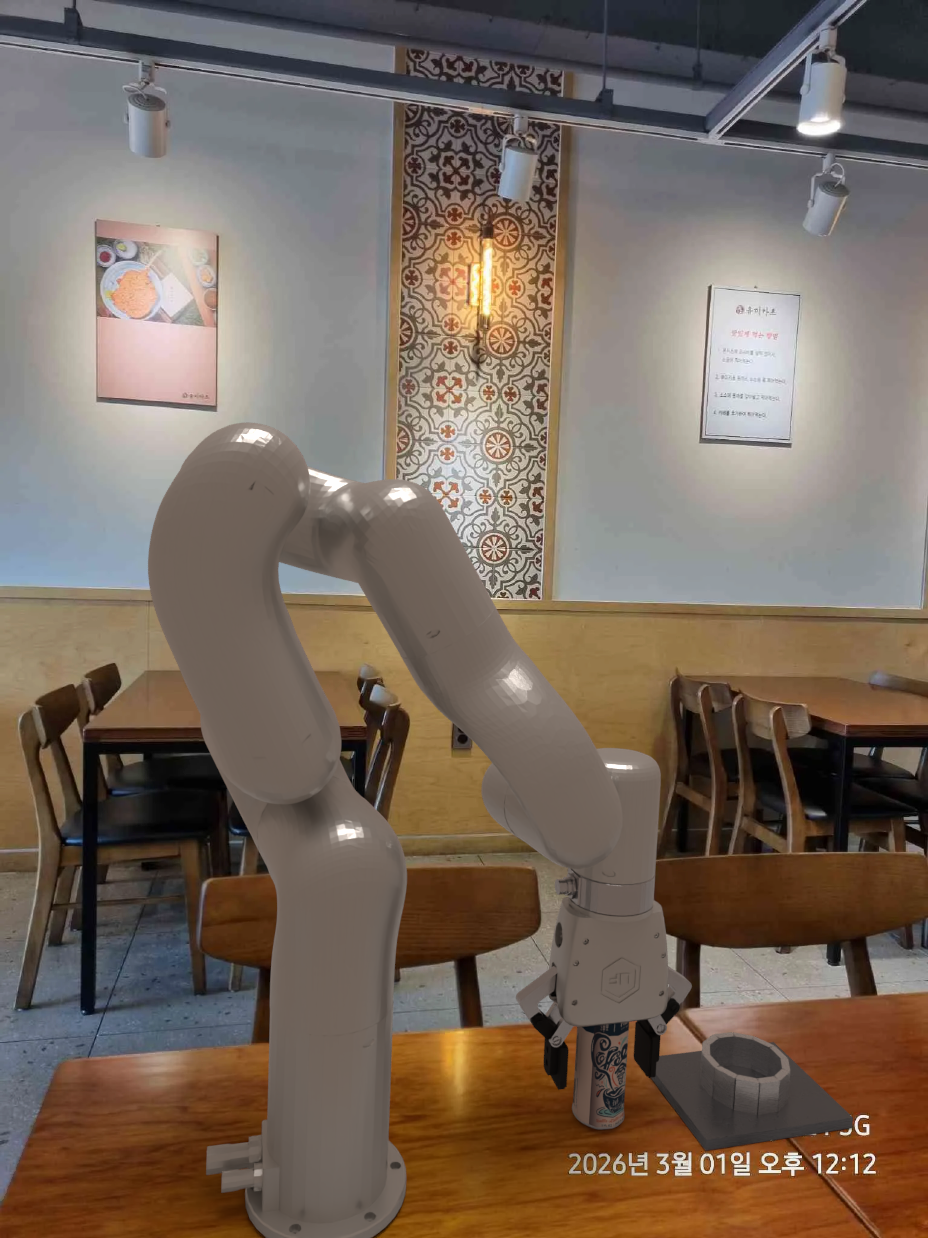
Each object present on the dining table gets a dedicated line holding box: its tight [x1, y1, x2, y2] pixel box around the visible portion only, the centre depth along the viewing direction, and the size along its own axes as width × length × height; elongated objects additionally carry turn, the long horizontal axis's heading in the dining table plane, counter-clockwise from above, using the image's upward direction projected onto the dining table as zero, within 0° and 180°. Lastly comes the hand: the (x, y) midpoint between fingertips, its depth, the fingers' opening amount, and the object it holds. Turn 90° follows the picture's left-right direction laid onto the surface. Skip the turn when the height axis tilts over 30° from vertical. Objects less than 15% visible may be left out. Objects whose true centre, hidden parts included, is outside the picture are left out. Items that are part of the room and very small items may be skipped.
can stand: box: [650, 1031, 854, 1152], centre depth 80 cm, size 15×12×4 cm
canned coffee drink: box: [571, 1022, 630, 1130], centre depth 76 cm, size 5×5×12 cm
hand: (601, 1073), depth 76 cm, fingers open, 8 cm apart
